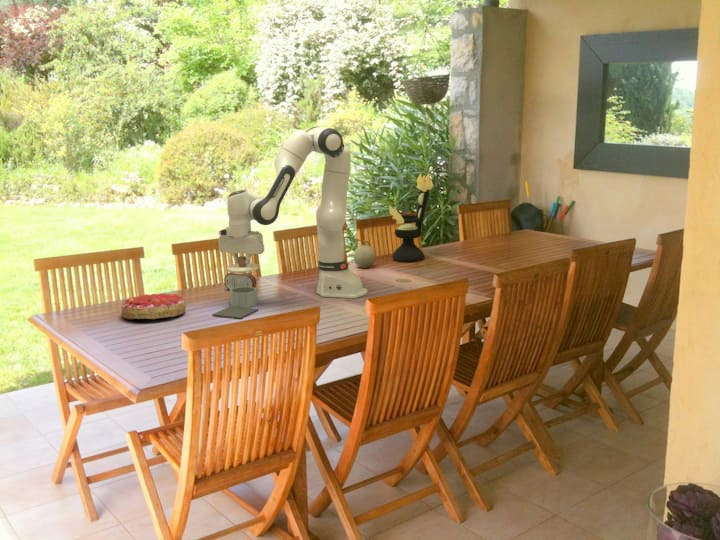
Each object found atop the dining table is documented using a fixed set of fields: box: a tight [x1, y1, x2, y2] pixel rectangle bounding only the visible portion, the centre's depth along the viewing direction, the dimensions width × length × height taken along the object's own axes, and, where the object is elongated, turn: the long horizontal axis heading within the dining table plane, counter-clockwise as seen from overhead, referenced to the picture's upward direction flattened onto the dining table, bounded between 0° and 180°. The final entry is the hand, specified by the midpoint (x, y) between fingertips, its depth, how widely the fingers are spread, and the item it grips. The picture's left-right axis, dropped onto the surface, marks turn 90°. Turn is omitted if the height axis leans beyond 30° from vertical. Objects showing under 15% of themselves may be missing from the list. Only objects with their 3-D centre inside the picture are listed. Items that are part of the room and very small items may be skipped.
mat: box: [212, 305, 259, 320], centre depth 310 cm, size 13×13×1 cm
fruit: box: [351, 238, 376, 269], centre depth 388 cm, size 10×12×15 cm
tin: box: [223, 272, 257, 291], centre depth 346 cm, size 15×3×8 cm, turn 71°
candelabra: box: [388, 172, 434, 263], centre depth 402 cm, size 19×22×45 cm
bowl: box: [229, 287, 258, 308], centre depth 323 cm, size 11×11×6 cm
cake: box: [121, 293, 187, 321], centre depth 309 cm, size 25×25×8 cm
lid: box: [226, 255, 260, 273], centre depth 320 cm, size 13×13×5 cm
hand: (242, 263), depth 321 cm, fingers closed on lid, 3 cm apart
